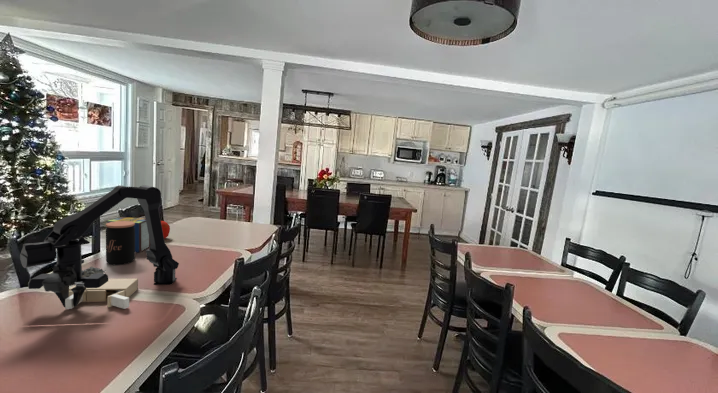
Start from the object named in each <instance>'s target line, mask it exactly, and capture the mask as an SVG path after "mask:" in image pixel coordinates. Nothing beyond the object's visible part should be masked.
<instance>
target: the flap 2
mask: <svg viewBox="0 0 718 393" xmlns="http://www.w3.org/2000/svg"><path fill="white" fill-rule="evenodd" d="M106 301H107V308H111V307H117V308H120V309H124V310H125V309H127V308H130V297H126V290H124V291H121V292H118V293H115V294H113V295H110V296H107V300H106Z"/></svg>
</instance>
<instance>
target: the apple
mask: <svg viewBox="0 0 718 393" xmlns="http://www.w3.org/2000/svg"><path fill="white" fill-rule="evenodd" d="M161 225H162V230H163V235H164V240H165V239H167V238H168V237H169V235H170V233H171V232H170V230H171V228H170V227H171V226H170V224H169V223H168V222H166V221H165V220H161Z"/></svg>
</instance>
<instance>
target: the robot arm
mask: <svg viewBox="0 0 718 393" xmlns="http://www.w3.org/2000/svg"><path fill="white" fill-rule="evenodd" d="M126 198H127V199H136V200H137V203H138V204H139V205H140V207H141V209H143V213H144V216H145V219H146V223H147V229H148V234H149V239H150V244H151V245H150V247H149V248H147V249H145V250H144V252H145V254H146V260H148V261H149V263H150V264H152V265H153V267H154V268H155V271H154V272H153V282H154V283H153V285H154V286H163V285H164V286H168V285H170V286H172V285H173V284H174V283H175V282H176V281H177V279H178V278H177V277H176V270H177V269H178V268H179V264H180V263H179V262H178V261H176V260H175V259H173V255H172V253H171V250H170V248H169V247H168V246H167V244H166V242H165V239H164V235H163V230H162V225H161V221H162V220H161V214H160V209H159V208H160V205H161V204H162V193H161V190H160V189H159V188H157V187H155V186H150V185H145V184H144V185H143V184H142V185H140V186H138V187H137V186H124V185H116V186H115V187H114V188H113V189H112V190H110V191H109V192H108V193H106V194H105V195H103V196H102V197H100V198H98V199H97V200H96V201H94V202H93V203H91V204H90V205H89V206H87V207H85V208H84V209H82V210H81V211H79V212H76V213H73V214H70V215H68V216H65V217H64V218H62V219H61V218H60V219H59V220H58V221H56V222H55V223H54V224H53V229H52V230H51V232H50V233H49V234H48V235H47V236H46V237H45V238H44V240H43V241H42V242H33V243H32V242H30V243H29V242H28V243H23V244H22V249H21V252H20V254H19V259H20V263H21V266H22V267H23V268H24V269H26V268H32V267H37V266H43V265H47V264H52V262H55V261H56V264H54V266H53V267H52V268H53V270H52V273H41V274H39V275H37V276H34V277H33V278H31V279H29V281H28V283H27V287H28V288H27V289H29V290H38V289H41V288H43V289H44V291H45V292H46V293H49V292H53V293H54V294H55V295H56V297H57V298H58V299H59V301H60V303H61V305H62V306H63V307H64V308H65V299H66V298H68V297H69V289H70V287H73V286H74V285H76V287H74V288H72V289H71V290H72V291H73V305H74V307H73V308H75V307H77V306H78V305H79V304H80V303H79V301H80V299H81V297H82V295H83V293H84V291H85V290H86V288H99V287H101V286H102V285H103V284H105V283H106V282H108V279H109V276H108V274H106V273H103V274H93V275H91V276H89V277H82V276H83V275H84V272H82V270H83V269H82V267H83V266H82V264H84V263H85V259H82V245H89V244H90V240H87V239H86V238H85V237H84V236H83V235H84V234H85V233H86V232H87V231H88V230H89V229H90V227H91V226H92V224H93V223H94V222H95V221H96V220H97V219H100V217H101V216H103V215H105V214H106V213H107V212H108V211H110V210H112V209H113V208H115V206H117V205H118V204H119V203H121V202H122V201H123V200H126ZM76 280H77V281H76ZM78 303H79V304H78Z"/></svg>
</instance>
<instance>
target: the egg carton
mask: <svg viewBox="0 0 718 393" xmlns="http://www.w3.org/2000/svg"><path fill="white" fill-rule="evenodd" d="M106 271H107V270H106V269H103V268H98V267H94V266H89V267H88V268H84V269H82V272H84V275H83V276H82V277H89V276H91V275H93V274H106V273H105V272H106ZM76 281H77V280H76Z"/></svg>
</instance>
